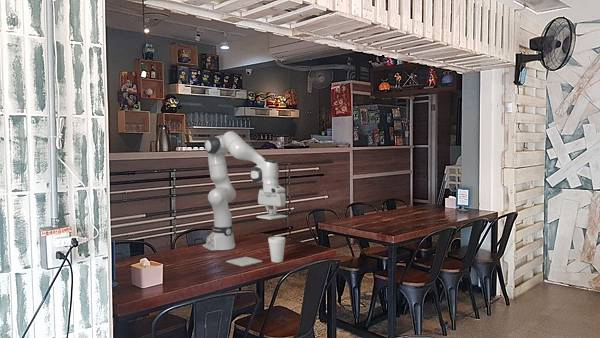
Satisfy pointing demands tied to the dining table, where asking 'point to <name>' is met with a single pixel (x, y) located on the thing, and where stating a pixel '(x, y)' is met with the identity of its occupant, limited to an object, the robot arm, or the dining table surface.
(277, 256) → the foam cup
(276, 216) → the lid
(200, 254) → the dining table surface
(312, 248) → the dining table surface
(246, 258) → the mat
